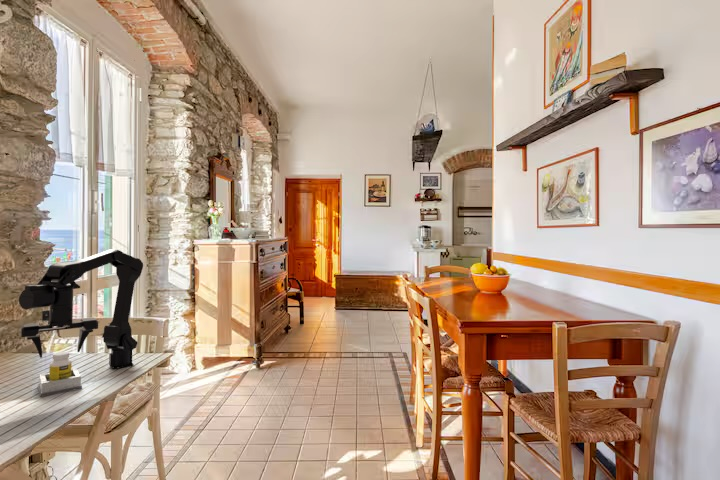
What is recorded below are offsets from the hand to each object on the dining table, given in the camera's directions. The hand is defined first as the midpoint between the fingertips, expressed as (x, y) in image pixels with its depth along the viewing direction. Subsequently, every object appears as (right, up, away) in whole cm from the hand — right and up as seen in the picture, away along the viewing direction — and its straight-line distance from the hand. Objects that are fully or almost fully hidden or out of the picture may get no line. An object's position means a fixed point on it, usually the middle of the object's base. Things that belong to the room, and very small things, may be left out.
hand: (60, 354), depth 120 cm
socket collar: (0, -10, 0) cm, 10 cm away
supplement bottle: (0, -10, 0) cm, 10 cm away
